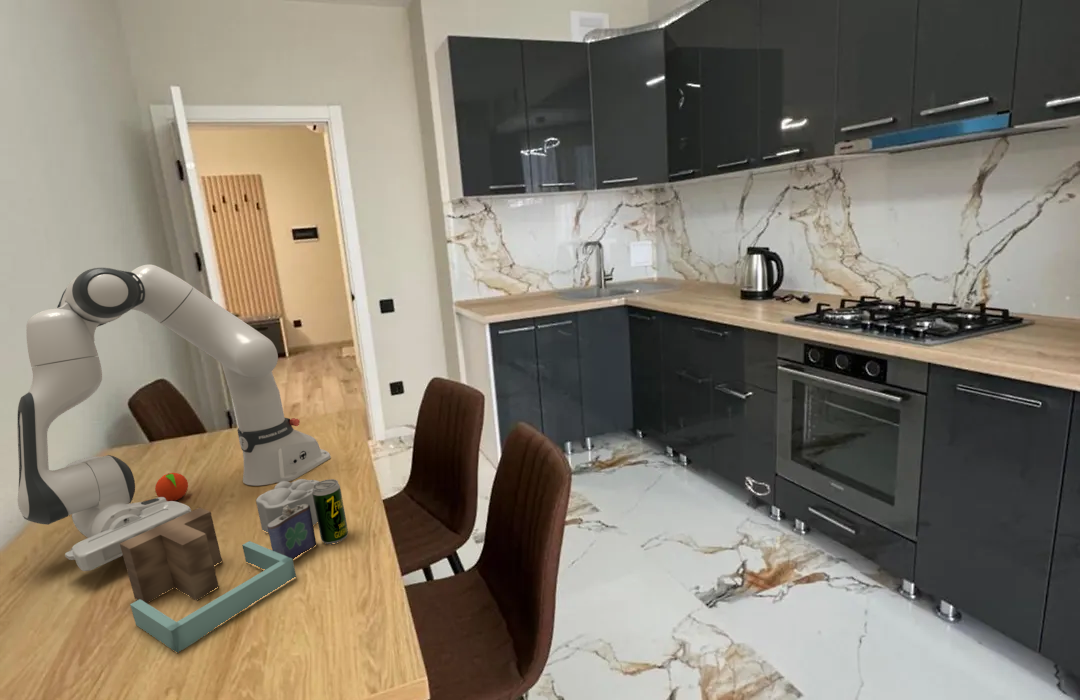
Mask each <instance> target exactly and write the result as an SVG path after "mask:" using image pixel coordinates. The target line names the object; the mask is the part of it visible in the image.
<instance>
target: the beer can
mask: <svg viewBox="0 0 1080 700" xmlns="http://www.w3.org/2000/svg"><path fill="white" fill-rule="evenodd" d="M312 488H313V491H312V495H313V500H314V505H315V510H316V515H317V521H318V523H317V525H318V531H319V536H320V540H321V542H324V543H323V544H325V543H326V544H325V545H328V544H331V545H333V544H332V543H336V544H338V543H337V542H339V541H341V542H343V541H344V540H343V539H345V538H346V539H347V537H348V534H349V528H348V522H347V518H346V512H345V505H344V501H343V495H342V490H341V485H340V484H339V481H338V479H337V480H336V479H329V478H328V479H324V480H320V481H319V482H318V483H316V484H315V485H314V486H313V487H312ZM346 539H345V540H346ZM342 540H343V541H342ZM339 543H340V542H339Z"/></svg>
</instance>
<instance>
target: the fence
mask: <svg viewBox="0 0 1080 700" xmlns="http://www.w3.org/2000/svg"><path fill="white" fill-rule="evenodd" d="M241 547H242V551H243V556H244V560H245V563H246V562H248V563H251V564H254V565H256V566H258V567H260V568H262V569H265V570H264V571H261V572H259V573H258V574H256V575H254V576H253V577H251V578H249V579H247V580H245V581H244V582H243V583H240V584H239V585H237V586H235V587H234V588H232V589H230V590H229V591H227V592H225V593H224V594H222V595H220V596H218V597H217V598H215V599H213V600H212V601H210V602H209V603H207V604H205V605H203V606H201V607H200V608H197V610H195V611H193V612H191V613H190V614H188V615H186V616H184V617H183V618H181V619H179V620H176V621H175V620H174V619H172V617H170V616H168V615H166V614H164V613H163V612H162V611H160V610H158V609H156V608H155V607H154V606H152V605H151V604H149V603H145V602H144V601H142V600H141V599H139V600H137V599H136V601H133V602H132V603H130V604H129V605H130V609H131V612H132V616H133V619H134V623H135V625H136V627H138V628H140V629H141V630H142V629H143V630H142V631H144V632H145V631H146V633H147V634H148V633H149V634H148V635H150V636H151V635H152V636H151V637H153V638H154V637H155V638H154V639H156V640H157V641H159V642H160V641H161V642H162V644H163V643H164V644H165V645H164V644H163V645H164V646H166V647H168V648H169V649H170V648H171V649H170V650H172V651H173V650H174V652H175V651H176V652H178V653H180V652H182V651H183V650H184V649H186V648H188V647H189V646H192V645H193V644H194V643H196V642H197V641H199V640H201V639H202V638H204V637H205V636H207V635H208V634H207V633H208V632H210V631H212V630H213V629H214V628H215V627H217V626H218V625H220V624H221V623H223V622H225V621H226V620H228V619H229V618H231V617H232V616H234V615H235V614H237V613H239V612H240V611H242V610H243V609H245V608H247V607H248V606H249V605H251V604H252V603H254V602H255V601H257V600H259V599H260V598H262V597H263V596H265V595H267V594H268V593H270V592H272V591H273V590H275V589H277V588H278V587H280V586H281V585H283V584H285V583H286V582H287V581H289V580H291V579H292V578H294V577H296V578H297V574H296V569H295V565H294V561H293V559H292V558H289V557H287V556H285V555H282V554H280V553H277V552H275V551H272V549H269V548H268V547H265V546H263V545H260V544H258V543H255V542H253V541H251V540H249V541H247V542H245V543H243V544H242V546H241ZM213 631H214V630H213ZM213 631H212V632H213ZM210 633H211V632H210ZM206 634H207V635H206ZM204 635H205V636H204ZM203 636H204V637H203ZM201 637H202V638H201ZM200 638H201V639H200ZM198 639H199V640H198ZM161 642H160V643H161ZM181 650H182V651H181ZM179 651H180V652H179ZM176 652H175V653H176Z"/></svg>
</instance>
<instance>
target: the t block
mask: <svg viewBox="0 0 1080 700" xmlns="http://www.w3.org/2000/svg"><path fill="white" fill-rule="evenodd" d="M214 525H215V524H214V521H213V517H212V512H211V511H209V510H208V509H205V508H203V507H198V508H195V509H193V510H191V512H189V513H187V514H184V515H182V516H180V517H178V518H175V519H173V520H171V521H169V522H167V523H164V524H162V525H160V526H158V527H155V528H153V529H151V530H149V531H146V532H144V533H142V534H140V535H138V536H135V537H133V538H131V539H129V540H126V541H124V542H122V543H120V547H121V551H122V554H123V556H122V557H123V561H124V564H125V568H126V572H127V575H128V578H129V582H130V586H131V589H132V592H133V596H134V599H136V601H137V600H139V599H141V600H142V601H144V602H145V603H147V604H149V603H150V602H152V601H153V600H152V599H154V598H156V597H157V598H159V597H160V596H159V595H161V594H162V593H165V592H167V591H168V590H170V589H172V588H174V587H175V588H177V589H178V590H177V589H176V590H177V591H179V590H180V591H181V592H180V591H179V592H180V593H182V592H183V593H182V594H184V593H185V594H184V595H186V594H187V595H189V596H190V598H191V597H192V598H191V599H193V598H194V599H193V600H194V601H196V600H197V599H199V598H201V597H202V598H204V597H205V596H204V595H206V594H207V593H209V592H210V591H212V590H214V589H215V588H217V587H219V588H220V586H219V582H218V578H217V574H216V569H215V567H214V565H216V564H217V563H220V562H221V561H222V562H223V559H222V555H221V551H220V546H219V543H218V537H217V533H216V530H215V526H214ZM220 564H221V563H220ZM175 588H174V589H175ZM172 590H173V589H172ZM170 591H171V590H170ZM167 593H168V592H167ZM165 594H166V593H165ZM209 594H210V593H209ZM187 595H186V596H187ZM158 596H159V597H158ZM161 596H162V595H161ZM189 596H188V597H189ZM203 596H204V597H203ZM206 596H207V595H206ZM157 598H156V599H157ZM202 598H201V599H202ZM151 600H152V601H151ZM154 600H155V599H154ZM199 600H200V599H199ZM149 601H150V602H149ZM197 601H198V600H197Z"/></svg>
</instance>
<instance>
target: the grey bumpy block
mask: <svg viewBox="0 0 1080 700" xmlns="http://www.w3.org/2000/svg"><path fill="white" fill-rule="evenodd" d="M318 482H320V481H319V480H316V479H305V478H299V479H298V478H297V479H295V480H292V482H291V481H282V482H277V483H276V484H275V486H274V488H273V489H269V490H267V491H265V492H264V493H262V494H260V495H259V496H258V497H257V498H256V499H255V503H256V506H257V507H256V508H257V512H258V516H259V522H260V526H261V531H262V530H264V531H266V532H268V527H267V525H268V524H269V523H271V522H272V521H273V520H275V519H276V518H278V517H279V516H281V515H283V508H284V507H286V506H287V505H288V506H289V508H291V509H293V508H295V507H296V506H298V505H302V504H307V505H309V506H310V511H311V516H312V523H313V525H314V524H315V525H316V523H317V522H318V521H317V515H316V510H315V505H314V500H313V495H312V491H313V488H312V487H313V486H314V485H315V484H316V483H318ZM283 505H286V506H284V507H282V506H283ZM280 508H282V509H280ZM317 524H318V523H317ZM315 525H314V526H315ZM266 532H265V533H266ZM268 533H269V532H268ZM268 533H267V534H268Z"/></svg>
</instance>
